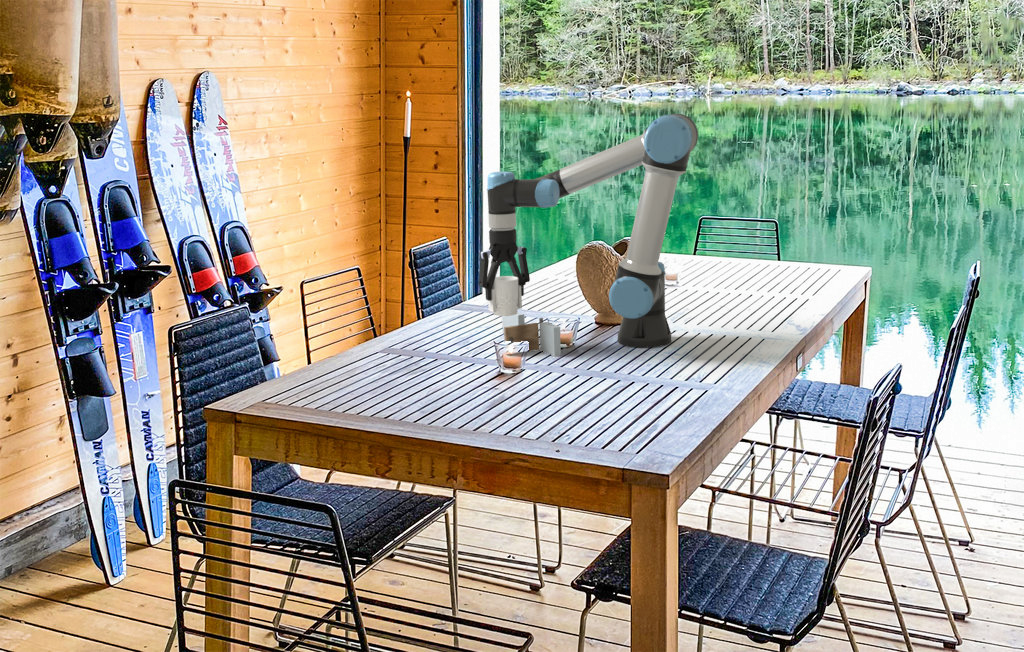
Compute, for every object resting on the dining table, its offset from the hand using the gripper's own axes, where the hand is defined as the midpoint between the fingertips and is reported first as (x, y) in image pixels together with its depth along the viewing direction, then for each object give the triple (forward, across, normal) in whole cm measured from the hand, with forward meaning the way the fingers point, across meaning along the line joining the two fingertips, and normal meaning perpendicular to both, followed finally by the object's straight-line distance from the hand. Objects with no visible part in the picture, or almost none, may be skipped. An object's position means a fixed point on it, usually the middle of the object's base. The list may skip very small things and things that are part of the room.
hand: (505, 309), depth 310 cm
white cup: (+1, 0, 0) cm, 1 cm away
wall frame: (+11, -7, +2) cm, 13 cm away
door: (+11, -1, +8) cm, 13 cm away
